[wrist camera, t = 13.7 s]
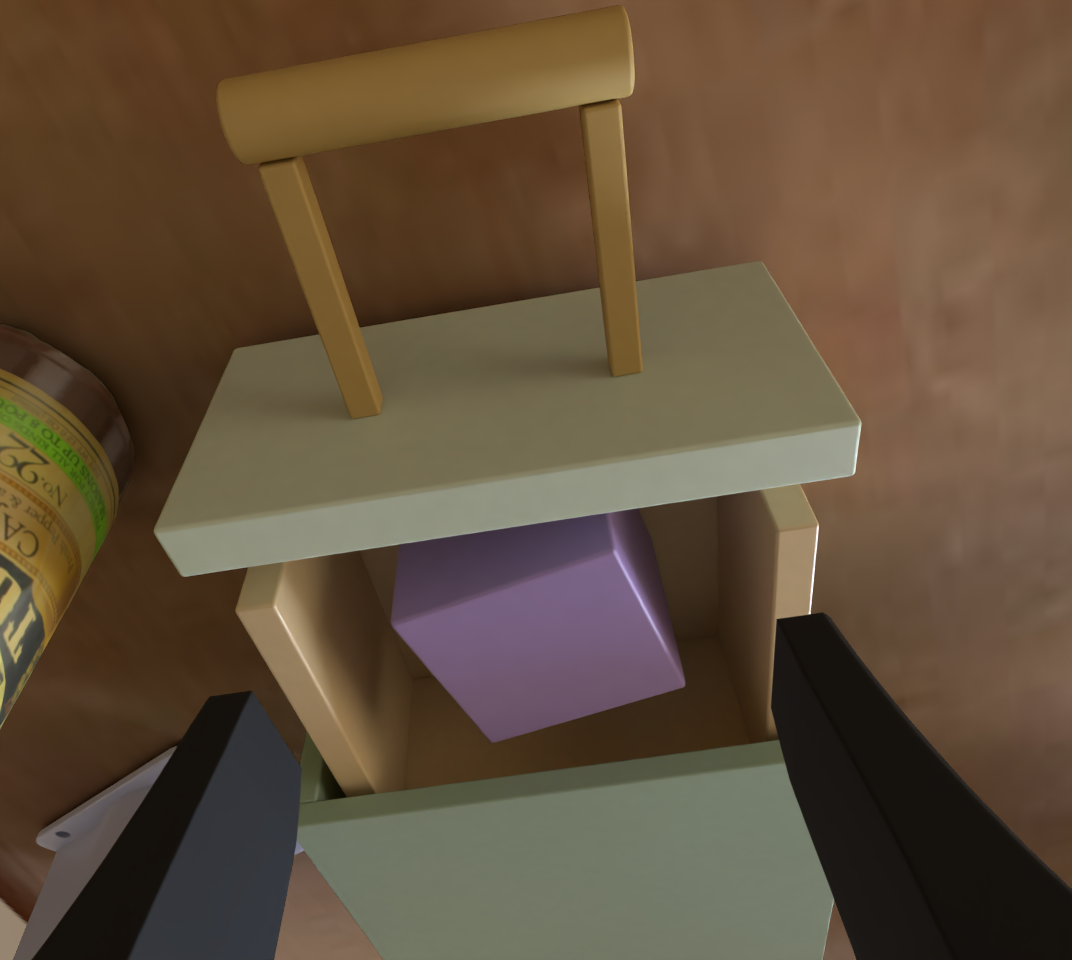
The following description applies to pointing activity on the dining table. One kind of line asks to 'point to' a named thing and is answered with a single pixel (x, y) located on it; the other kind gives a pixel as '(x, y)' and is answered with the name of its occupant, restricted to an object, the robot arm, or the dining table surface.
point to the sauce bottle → (50, 493)
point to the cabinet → (578, 861)
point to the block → (539, 620)
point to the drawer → (502, 430)
